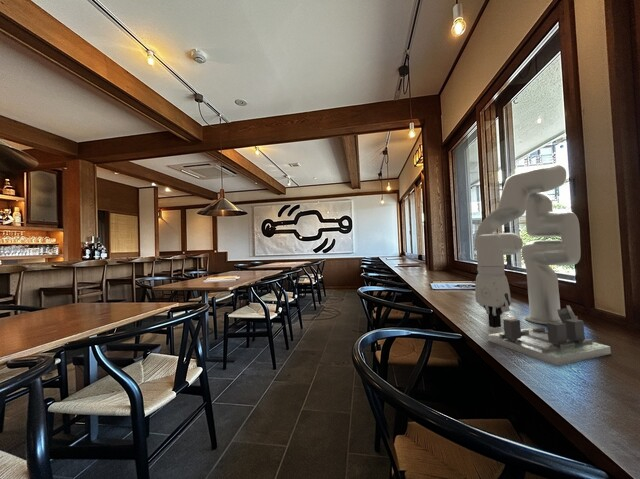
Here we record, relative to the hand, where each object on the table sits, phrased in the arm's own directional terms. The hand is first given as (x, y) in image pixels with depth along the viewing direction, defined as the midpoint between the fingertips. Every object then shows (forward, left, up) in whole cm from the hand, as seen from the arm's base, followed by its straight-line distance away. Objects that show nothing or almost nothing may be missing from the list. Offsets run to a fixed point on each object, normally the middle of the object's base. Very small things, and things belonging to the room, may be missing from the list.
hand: (495, 326), depth 91 cm
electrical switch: (-25, +6, -5) cm, 26 cm away
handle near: (-14, +14, -2) cm, 20 cm away
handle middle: (-7, +14, -2) cm, 16 cm away
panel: (-7, +10, -4) cm, 13 cm away
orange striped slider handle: (0, +6, -2) cm, 6 cm away
